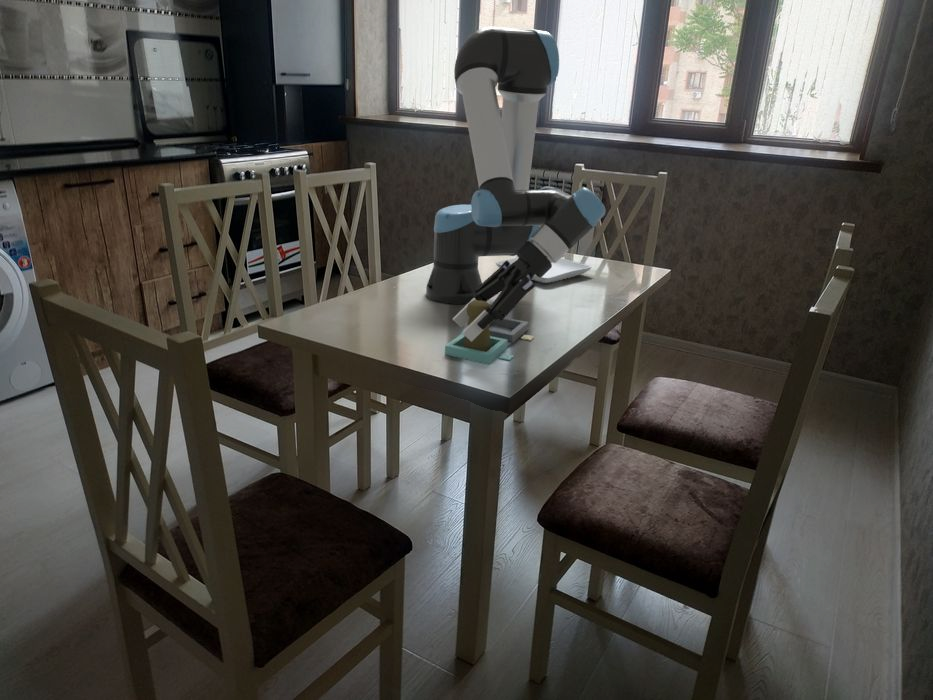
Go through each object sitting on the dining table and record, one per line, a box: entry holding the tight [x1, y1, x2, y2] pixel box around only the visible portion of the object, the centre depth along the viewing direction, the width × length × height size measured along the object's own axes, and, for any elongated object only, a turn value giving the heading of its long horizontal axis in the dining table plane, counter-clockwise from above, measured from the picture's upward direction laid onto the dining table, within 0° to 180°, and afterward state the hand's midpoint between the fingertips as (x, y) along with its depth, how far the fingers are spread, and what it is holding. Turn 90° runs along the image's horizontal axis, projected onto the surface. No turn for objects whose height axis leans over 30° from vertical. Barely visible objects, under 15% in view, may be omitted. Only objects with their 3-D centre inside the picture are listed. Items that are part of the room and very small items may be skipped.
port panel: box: [444, 317, 536, 365], centre depth 145 cm, size 13×23×2 cm, turn 155°
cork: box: [463, 300, 492, 352], centre depth 139 cm, size 6×6×11 cm
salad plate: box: [495, 256, 592, 284], centre depth 200 cm, size 21×21×3 cm
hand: (461, 329), depth 138 cm, fingers open, 7 cm apart
